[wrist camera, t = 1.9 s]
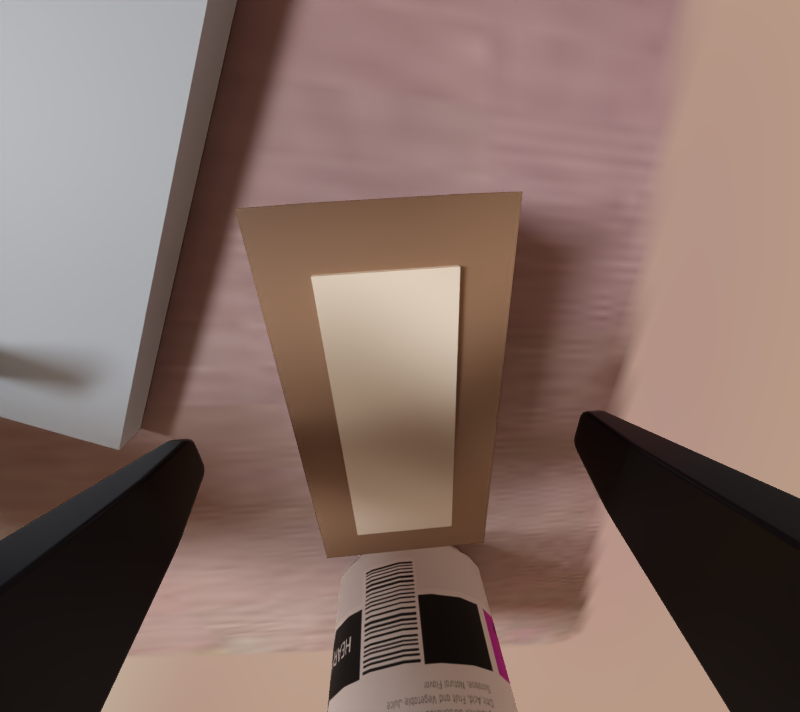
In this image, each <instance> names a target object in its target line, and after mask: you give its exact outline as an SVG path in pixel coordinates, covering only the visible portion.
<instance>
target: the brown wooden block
mask: <svg viewBox="0 0 800 712" xmlns="http://www.w3.org/2000/svg"><path fill="white" fill-rule="evenodd" d="M521 200H522V192H497V193H473V194H451V195H435V196H418V197H401V198H384V199H368V200H351V201H334V202H317V203H300V204H287V205H275V206H262V207H250V208H237V209H235V211H236V215H237V218H238V222H239V226H240V230H241V234H242V237H243V241H244V245H245V249H246V252H247V256H248V260H249V264H250V268H251V271H252V275H253V279H254V283H255V286H256V290H257V294H258V298H259V302H260V305H261V309H262V313H263V317H264V320H265V324H266V328H267V332H268V336H269V339H270V343H271V347H272V351H273V354H274V358H275V362H276V366H277V370H278V373H279V377H280V381H281V385H282V388H283V392H284V396H285V400H286V404H287V407H288V411H289V415H290V419H291V422H292V426H293V430H294V434H295V438H296V441H297V445H298V449H299V453H300V456H301V460H302V464H303V468H304V472H305V475H306V479H307V483H308V487H309V490H310V494H311V498H312V502H313V506H314V509H315V513H316V517H317V521H318V524H319V528H320V532H321V536H322V540H323V543H324V547H325V551H326V555H327V558H332V557H342V556H352V555H363V554H373V553H383V552H393V551H403V550H413V549H423V548H433V547H444V546H454V545H464V544H474V543H484V535H485V526H486V517H487V508H488V499H489V490H490V481H491V472H492V463H493V454H494V445H495V436H496V427H497V418H498V409H499V399H500V390H501V381H502V372H503V363H504V354H505V345H506V336H507V327H508V318H509V309H510V300H511V291H512V282H513V273H514V263H515V254H516V245H517V236H518V227H519V218H520V209H521Z"/></svg>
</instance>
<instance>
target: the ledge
mask: <svg viewBox="0 0 800 712" xmlns="http://www.w3.org/2000/svg"><path fill="white" fill-rule="evenodd" d="M236 3H237V0H0V417H3V418H6V419H10V420H13V421H17V422H21V423H24V424H28V425H31V426H35V427H38V428H42V429H45V430H49V431H52V432H56V433H60V434H63V435H67V436H70V437H74V438H77V439H81V440H84V441H88V442H91V443H95V444H99V445H102V446H106V447H109V448H113V449H116V450H120V449H121V448H122V447H123V446H124V445H125V444H126V443H127V442H128V441H129V440H130V439H131V438H132V437H133V436H134V435H135V434H136V433H137V432H138V431H139V430H140V428H141V423H142V419H143V415H144V410H145V406H146V401H147V397H148V393H149V388H150V384H151V379H152V375H153V370H154V366H155V362H156V357H157V353H158V348H159V344H160V339H161V335H162V331H163V326H164V322H165V317H166V313H167V308H168V304H169V300H170V295H171V291H172V286H173V282H174V277H175V273H176V269H177V264H178V260H179V255H180V251H181V246H182V242H183V238H184V233H185V229H186V224H187V220H188V215H189V211H190V207H191V202H192V198H193V193H194V189H195V185H196V180H197V176H198V171H199V167H200V162H201V158H202V154H203V149H204V145H205V140H206V136H207V131H208V127H209V123H210V118H211V114H212V109H213V105H214V100H215V96H216V92H217V87H218V83H219V78H220V74H221V69H222V65H223V61H224V56H225V52H226V47H227V43H228V38H229V34H230V30H231V25H232V21H233V16H234V12H235V8H236Z"/></svg>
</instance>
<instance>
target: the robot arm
mask: <svg viewBox="0 0 800 712" xmlns="http://www.w3.org/2000/svg"><path fill="white" fill-rule="evenodd" d="M574 443H575V447H576V450H577V452H578V454H579V456H580V458H581V460H582V462H583V464H584V466H585V468H586V470H587V472H588V474H589V476H590V478H591V480H592V482H593V484H594V486H595V489H596V491H597V493H598V495H599V497H600V499H601V501H602V502H603V504H604V506H605V508H606V510H607V512H608V513H609V515H610V517H611V518H612V520H613V522H614V523H615V525H616V527H617V528H618V530H619V532H620V533H621V535H622V536H623V538H624V540H625V541H626V543H627V545H628V546H629V548H630V549H631V551H632V553H633V554H634V556H635V557H636V559H637V561H638V563H639V564H640V566H641V567H642V569H643V571H644V572H645V574H646V576H647V577H648V579H649V580H650V582H651V584H652V585H653V587H654V588H655V590H656V592H657V593H658V595H659V597H660V598H661V600H662V602H663V603H664V605H665V606H666V608H667V610H668V611H669V613H670V615H671V616H672V617H673V619H674V621H675V623H676V624H677V626H678V628H679V629H680V631H681V633H682V634H683V636H684V637H685V639H686V641H687V642H688V644H689V646H690V647H691V649H692V650H693V652H694V654H695V655H696V657H697V658H698V660H699V662H700V663H701V665H702V666H703V668H704V670H705V672H706V673H707V675H708V676H709V678H710V680H711V681H712V683H713V684H714V686H715V688H716V689H717V691H718V693H719V694H720V696H721V698H722V699H723V701H724V702H725V704H726V706H727V707H728V709H729V711H730V712H800V498H797V497H795V496H793V495H791V494H788V493H786V492H784V491H782V490H779V489H777V488H775V487H773V486H770V485H768V484H766V483H764V482H761V481H759V480H757V479H755V478H753V477H750V476H748V475H746V474H744V473H741V472H739V471H737V470H734V469H732V468H730V467H728V466H726V465H723V464H721V463H719V462H717V461H714V460H712V459H710V458H708V457H705V456H703V455H701V454H699V453H696V452H694V451H692V450H690V449H688V448H685V447H683V446H681V445H678V444H676V443H674V442H672V441H670V440H667V439H665V438H663V437H661V436H658V435H656V434H654V433H652V432H649V431H647V430H645V429H642V428H640V427H638V426H635V425H634V424H631V423H629V422H627V421H625V420H623V419H620V418H618V417H616V416H614V415H611V414H609V413H607V412H604V411H600V410H597V411H586V412H583V413H582V415H581V417H580V420H579V423H578V427H577V430H576V434H575V438H574ZM203 476H204V464H203V462H202V460H201V457H200V455H199V453H198V450H197V448H196V446H195V443H194V442H193V441H192V440H190V439H178V440H170V441H168V442H166V443H164V444H163V445H161V446H159V447H158V448H156V449H154V450H153V451H151V452H149V453H148V454H146V455H144V456H142V457H141V458H139V459H137V460H136V461H134V462H132V463H131V464H129V465H127V466H126V467H124V468H122V469H120V470H119V471H117V472H115V473H114V474H112V475H110V476H109V477H107V478H105V479H104V480H102V481H100V482H99V483H97V484H95V485H93V486H92V487H90V488H88V489H87V490H85V491H83V492H82V493H80V494H78V495H77V496H75V497H73V498H72V499H70V500H68V501H66V502H65V503H63V504H61V505H60V506H58V507H56V508H55V509H53V510H51V511H50V512H48V513H46V514H45V515H43V516H41V517H39V518H38V519H36V520H34V521H33V522H31V523H29V524H28V525H26V526H24V527H23V528H21V529H19V530H17V531H16V532H14V533H12V534H11V535H9V536H7V537H6V538H4V539H2V540H1V541H0V712H101V710H102V708H103V705H104V703H105V701H106V699H107V697H108V695H109V693H110V691H111V688H112V686H113V684H114V682H115V680H116V678H117V676H118V673H119V671H120V669H121V667H122V665H123V663H124V661H125V659H126V656H127V654H128V652H129V650H130V648H131V646H132V644H133V642H134V639H135V637H136V635H137V633H138V631H139V629H140V627H141V625H142V622H143V620H144V618H145V616H146V614H147V612H148V610H149V607H150V605H151V603H152V601H153V599H154V597H155V595H156V593H157V590H158V588H159V586H160V584H161V582H162V580H163V578H164V576H165V573H166V571H167V569H168V567H169V565H170V563H171V561H172V558H173V556H174V554H175V552H176V549H177V547H178V545H179V542H180V540H181V537H182V535H183V532H184V529H185V527H186V524H187V521H188V518H189V516H190V513H191V510H192V507H193V504H194V502H195V499H196V496H197V493H198V490H199V488H200V485H201V482H202V479H203Z"/></svg>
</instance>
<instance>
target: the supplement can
mask: <svg viewBox="0 0 800 712" xmlns="http://www.w3.org/2000/svg"><path fill="white" fill-rule="evenodd" d="M327 712H518V711H517V708H516V704H515V700H514V697H513V693H512V689H511V686H510V682H509V678H508V675H507V671H506V667H505V664H504V660H503V657H502V653H501V649H500V645H499V642H498V638H497V634H496V631H495V627H494V623H493V620H492V616H491V612H490V609H489V605H488V601H487V598H486V594H485V590H484V587H483V583H482V579H481V576H480V572H479V568H478V567H477V566H476V565H475V563H474V562H473V561H472V560H471V559H470V558H469V556H467V555H465V554H463V553H461V552H460V551H459V550H458V549H457V548H456V547H453V546H444V547H433V548H423V549H413V550H403V551H393V552H383V553H373V554H363V555H361V556H360V557H359V559H358V560H357V561H356V562H355V563H353V564H352V565H351V566H350V568H349V569H348V570H347V571H346V573H345V574H344V575H343V576H342V578H341V582H340V589H339V597H338V608H337V618H336V628H335V639H334V649H333V660H332V670H331V680H330V691H329V701H328V711H327Z"/></svg>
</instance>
